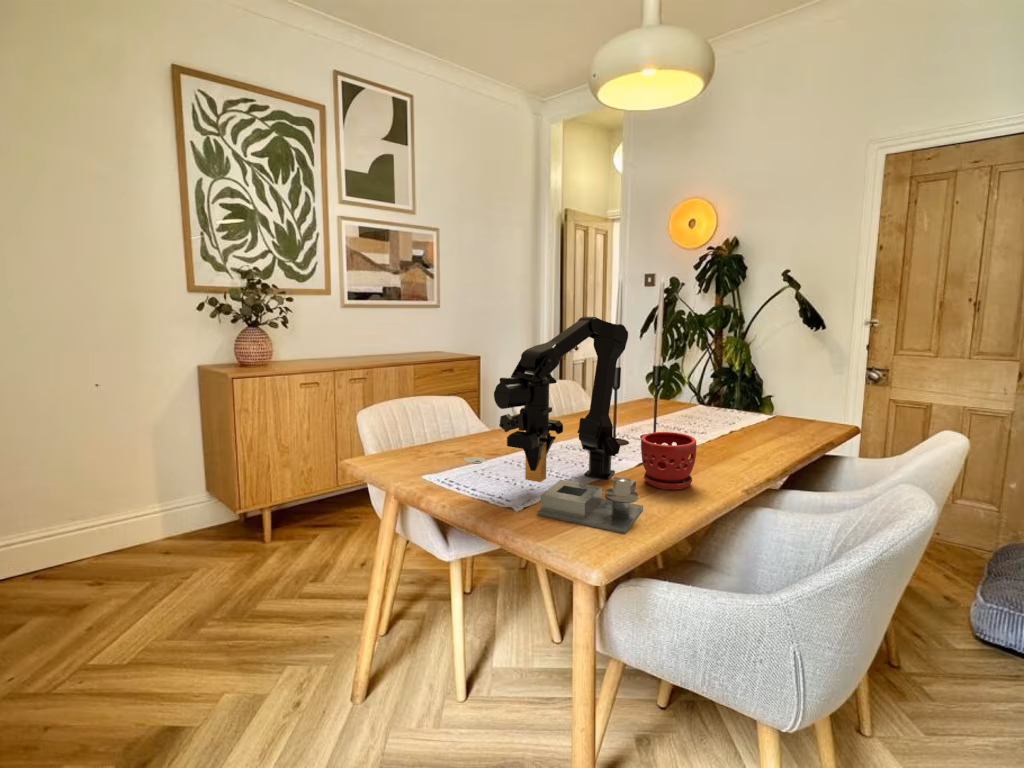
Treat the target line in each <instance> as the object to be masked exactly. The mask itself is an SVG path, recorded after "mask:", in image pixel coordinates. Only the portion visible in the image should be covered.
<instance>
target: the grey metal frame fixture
mask: <svg viewBox="0 0 1024 768" xmlns="http://www.w3.org/2000/svg"><path fill="white" fill-rule="evenodd" d="M636 487H637V480H635V479H634V480H633V479H631V478H628V477H625V476H615V477H613V478H612V487H611V488H608V489H606V490H605V491H604V498H603V497H602V496H603V493H602V491H603V487H602V486H598V485H592V484H588V483H582V482H576V481H575V482H574V481H570V480H563V479H560V480H558V481H557V482H555V484H553V485H552V486H551V487H549V488H548V489H547V490H545V491H544V492H543V493H541V494H540V504H539V505H540V509H538V511H537V512H536V513H537V516H541V517H545V518H546V517H547V518H550V519H554V520H560V521H563V522H567V523H574V524H578V525H582V526H587V527H592V528H596V529H602V530H605V531H611V532H614V533H621V534H626V533H628V531H629V529H630V528H631V527H632V525H633V524H634V522H635V521H636V519H637V518H638V517H639V515H640V514H641V513H642V511H644V505H641V504H635V502H637V501H638V499H639V493H638V492H637V491H636V489H637V488H636Z"/></svg>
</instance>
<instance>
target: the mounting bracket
mask: <svg viewBox="0 0 1024 768" xmlns="http://www.w3.org/2000/svg"><path fill="white" fill-rule="evenodd" d="M463 460H464V462H465V463H472V464H477V465H480V464H482V463H483V462H485V463H486V462H488V460H487V459H486V458H485V457H484V456H473V457H465V458H463Z"/></svg>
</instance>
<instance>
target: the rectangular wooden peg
mask: <svg viewBox="0 0 1024 768" xmlns="http://www.w3.org/2000/svg"><path fill="white" fill-rule="evenodd" d="M539 443H541V444H544V446H543V449H542V452H541V455H540V458H539V461H538V464H537V467H536V470H535V471H531V470H530V467H529V464H528V461H527V458H526V457H525V463H524V465H525V471H524V472H525V473H524V474H525V475H524V476H525V477H524V478H525V480H526V481H532V482H537V483H542V482H543V481H545V480H546V479H547V455H546V449H547V442H544V441H539Z"/></svg>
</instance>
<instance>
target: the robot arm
mask: <svg viewBox="0 0 1024 768" xmlns="http://www.w3.org/2000/svg"><path fill="white" fill-rule="evenodd" d="M588 338H591V339H592V340H593V348H594V352H595V354H596V356H597V357H596V358H597V359H596V367H595V371H594V380H593V387H592V393H591V398H590V399H591V400H590V405H589V406H590V407H589V412H588V413H587V414H586V416H585V417H580V418H579V419H580V420H579V426H578V429H577V434H578V440H579V441H580V443H581V447H582V450H584V451H588V453H589V454H588V456H589V457H588V469H587V471H585V472H584V476H585V477H591V478H592V477H593V478H597V479H598V478H599V479H604V480H609V479H610V478H611V477H612V476H613V475H614V474H615V472H616V471H615V470H613V469H612V457H615V456H617V455H618V454H619V452H620V450H621V445H620V444H619V442H618V441H617V440H616V439H615V437H614V436H613V435H614V432H613V431H614V425H613V423H612V420H611V417H610V410H611V409H610V408H611V403H612V402H611V401H612V396H613V390H614V384H615V377H616V376H615V375H616V369H617V363H618V359H619V358H620V357H621V356H622V354H623V353H624V351H625V350H626V346H627V342H628V339H629V330H627V327H626V326H625V325H624V324H622V323H621V324H620V323H611V322H608V321H606V320H603V319H600V318H598V316H597V317H596V316H582V317H580V318H579V319H578V320H577V321H576V322H575V323H573V324H572V325H571V326H569V327H567V328H566V329H564V330H563V331H561V332H560V333H558V334H557V335H556V336H555V337H553V338H552V339H550V340H549V341H547V342H544V343H540V344H537V345H533V346H531V347H530V348H527V349H526V350H524V351H523V352H522V353H521V354H520V356H521V357H520V360H519V361H518V363H517V365H516V367H514V370H513V372H512V373H511V375H510V377H500V378H499V383H498V384H497V385H496V386H495V389H494V391H493V399H494V402H495V404H496V406H497V407H498V408H499V409H500V410H505V409H511V408H518V407H521V408H520V409H519V413H516V414H513V415H511V414H510V413H507V414H503V415H501V416H500V419H499V423H498V424H499V427H500V428H501V429H502V430H503V431H504V433H507V432H510V431H513V430H515V431H513V432H511V433H510V434H509V435H508V436H507V437H506V446H507V447H509V448H515V449H522V450H523V452H524V455H525V459H526V458H527V461H528V464H529V467H530V470H531V471H535V470H536V467H537V464H538V461H539V458H540V455H541V452H542V449H543V446H544V444H541V443H539V441H544V442H547V449H546V456H547V455H548V453H549V451H550V450H551V447H552V445H553V443H554V441H555V440H556V438H557V437H556V436H553V435H551V432H550V431H552V432H555V433H556V435H560V434H561V433H563V432H564V424H563V423H562V422H561V420H560V419H559V420H557V419H550V417H549V416H550V413H551V412H553V407H552V406H550V385H553V384H556V383H558V382H557V381H558V380H557V379H556V378H554V377H553V376H552V374H551V373H553V372H554V370H555V369H556V368H558V367H559V364H560V362H561V359H562V358H563V357H564V356H565V355H566V354H568V353H569V352H570V351H572V350H573V349H575V348H576V347H577V346H578V345H580V344H581V343H583V342H584V341H586V340H587V339H588ZM516 429H518V430H516Z"/></svg>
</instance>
